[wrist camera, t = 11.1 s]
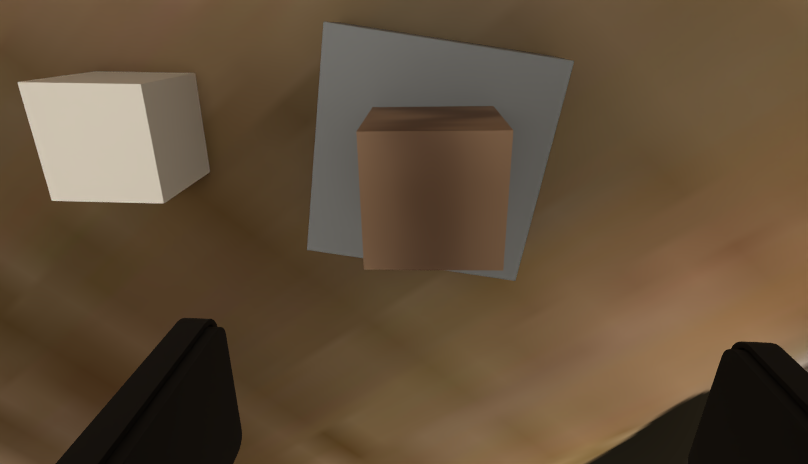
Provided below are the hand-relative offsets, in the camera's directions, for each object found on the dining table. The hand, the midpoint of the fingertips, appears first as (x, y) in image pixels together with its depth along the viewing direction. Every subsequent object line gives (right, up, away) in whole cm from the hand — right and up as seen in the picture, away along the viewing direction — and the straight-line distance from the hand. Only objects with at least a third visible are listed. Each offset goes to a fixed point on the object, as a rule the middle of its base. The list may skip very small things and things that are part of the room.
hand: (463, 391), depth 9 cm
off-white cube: (-16, +10, +20) cm, 28 cm away
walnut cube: (0, +7, +16) cm, 17 cm away
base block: (0, +9, +21) cm, 22 cm away
